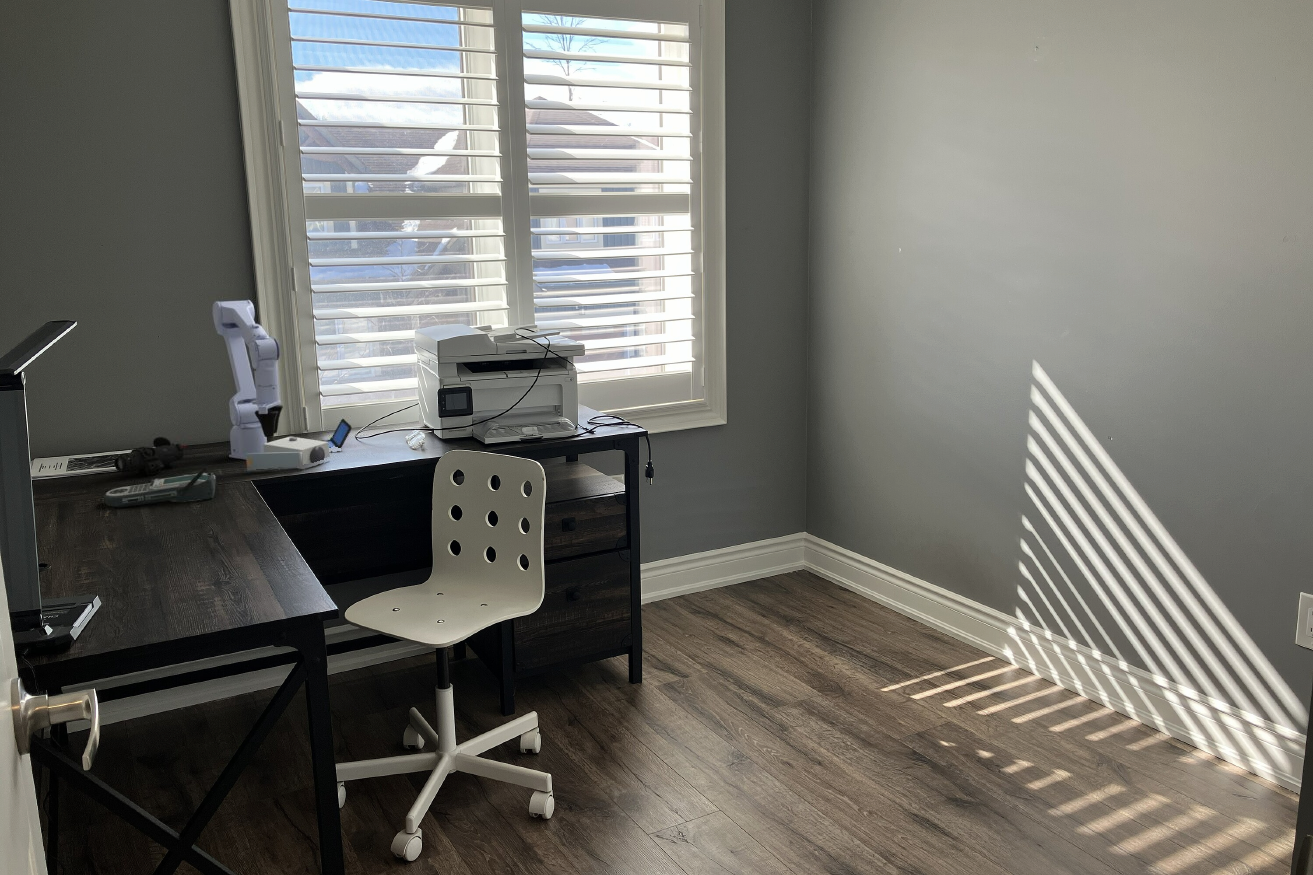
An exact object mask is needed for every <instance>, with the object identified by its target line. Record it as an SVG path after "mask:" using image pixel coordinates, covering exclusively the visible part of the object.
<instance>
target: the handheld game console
mask: <svg viewBox="0 0 1313 875" xmlns="http://www.w3.org/2000/svg"><path fill="white" fill-rule="evenodd" d="M352 428H353V427H352V425H351V424H350V423H348V421H346V420H345V418H342V419H341V420H340V422H339V423H338V426H337V427H336V428H335V430H334V432H333V434H332V435H331V436H332V437H330V439H323V440H322V439H321V440H320V441H324V442H329V448H331V447H333V446H335V447H338V448H341V449H342V447H343V445H344V444H345V442H346V440H347V438H348V437H349V434H350V433H351V431H352Z"/></svg>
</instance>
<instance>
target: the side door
mask: <svg viewBox="0 0 1313 875" xmlns="http://www.w3.org/2000/svg"><path fill="white" fill-rule="evenodd" d="M295 466H303V461H302V452H274V453H246V468H247V471H257V470H256V469H268V468H278V467H295Z"/></svg>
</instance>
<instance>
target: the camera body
mask: <svg viewBox="0 0 1313 875" xmlns="http://www.w3.org/2000/svg"><path fill="white" fill-rule="evenodd" d="M263 449H264V453H274V452H302V461H303V465H304V464H309V463H314V462H317V461H320V460H324V458H327V457H330V458H331V456H330V455H331V453H330V452H329V442H324V441H321V440H316V439H309V438H302V437H298V436H292V435H291V436H287V437H284V438H280V439H279V438H278V439H277V440H273V441H272V440H271V441H270V442H268V441H267V443H265V444H263Z"/></svg>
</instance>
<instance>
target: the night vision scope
mask: <svg viewBox="0 0 1313 875" xmlns="http://www.w3.org/2000/svg"><path fill="white" fill-rule="evenodd" d="M152 444H153V446H154V447H153V446H147V447H145V446H140V447H136V448H134V449H132V450H131V451H130V452H128V453H127V452H126V453H123V454H122V455H119V456H118V457H116V458H115V459H114V461H113V464H114V467H115V470H117V471H118V472H123V473H124V472H127V473H128V472H132V471H133V472H134V473H135V474H139V473H141V472H146V474H147V476H153V475H157V474H161V473H162V472H163V470H162V469H165V467H169V466H170V464H172V463H173V462H176V461H181V460H182V459H183V457H184V455H185V454H184V449H185V450H187V447H186V446H185V445H184V444H181V443H179V442H177V443H176V444H175V443H174V442H173V443H172V442H171V441H170V440H169V439H168V438H167V437H165V436H157V437H156V438H154V439H153V441H152Z"/></svg>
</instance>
